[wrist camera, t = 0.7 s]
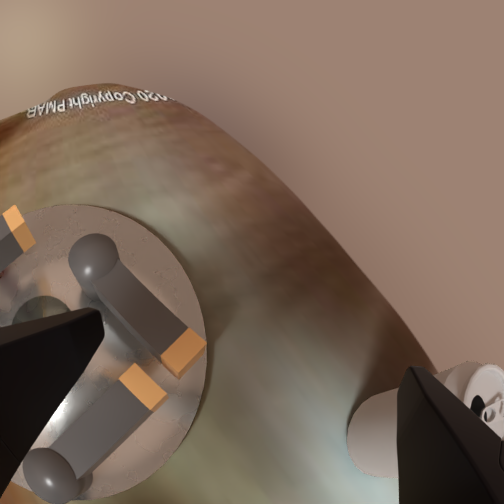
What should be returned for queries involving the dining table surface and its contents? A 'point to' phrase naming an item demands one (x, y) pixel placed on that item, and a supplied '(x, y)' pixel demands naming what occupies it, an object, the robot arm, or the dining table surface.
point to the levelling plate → (107, 335)
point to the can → (385, 415)
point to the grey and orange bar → (133, 304)
